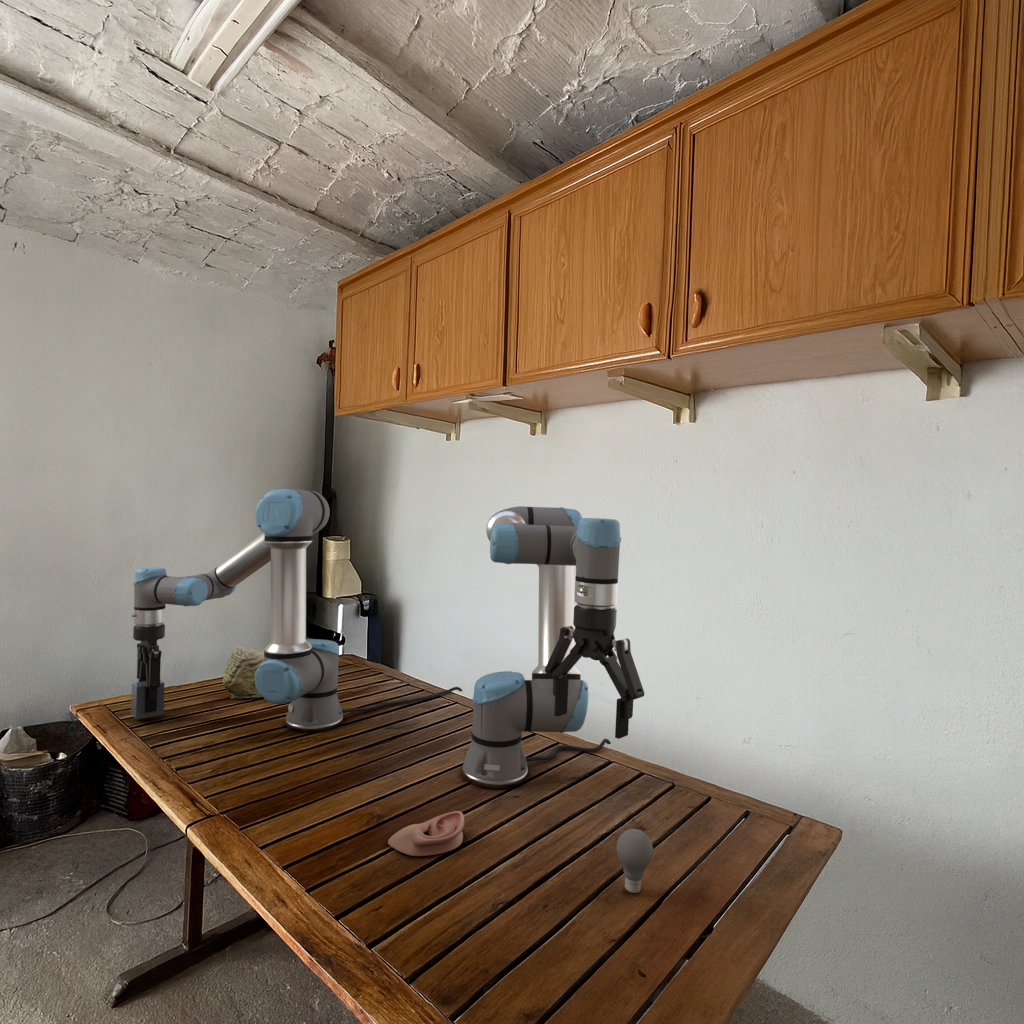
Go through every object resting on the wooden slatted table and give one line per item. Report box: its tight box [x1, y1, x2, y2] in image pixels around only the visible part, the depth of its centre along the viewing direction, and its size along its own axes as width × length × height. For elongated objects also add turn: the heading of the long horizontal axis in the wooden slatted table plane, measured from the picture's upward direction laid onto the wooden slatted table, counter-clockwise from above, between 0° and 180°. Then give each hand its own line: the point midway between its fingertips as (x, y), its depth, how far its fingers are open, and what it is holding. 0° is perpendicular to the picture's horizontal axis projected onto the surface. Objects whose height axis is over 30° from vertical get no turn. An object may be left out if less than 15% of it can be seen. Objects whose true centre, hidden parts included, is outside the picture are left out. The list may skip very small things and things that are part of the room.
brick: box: [130, 679, 165, 720], centre depth 173 cm, size 5×7×9 cm
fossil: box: [222, 646, 264, 699], centre depth 198 cm, size 9×18×15 cm, turn 132°
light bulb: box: [615, 828, 654, 894], centre depth 106 cm, size 6×6×10 cm
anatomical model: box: [387, 810, 465, 857], centre depth 118 cm, size 13×4×12 cm
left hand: (147, 708), depth 173 cm, fingers closed on brick, 5 cm apart
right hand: (589, 725), depth 112 cm, fingers open, 13 cm apart
